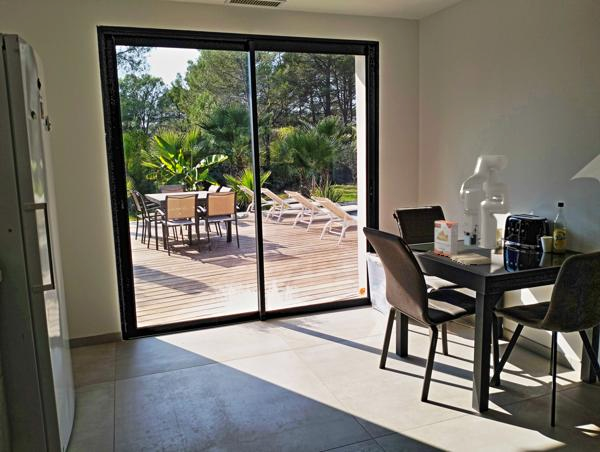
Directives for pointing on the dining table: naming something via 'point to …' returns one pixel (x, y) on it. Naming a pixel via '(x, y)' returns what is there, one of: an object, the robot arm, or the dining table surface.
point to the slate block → (468, 240)
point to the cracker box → (446, 238)
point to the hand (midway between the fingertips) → (470, 243)
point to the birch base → (470, 259)
